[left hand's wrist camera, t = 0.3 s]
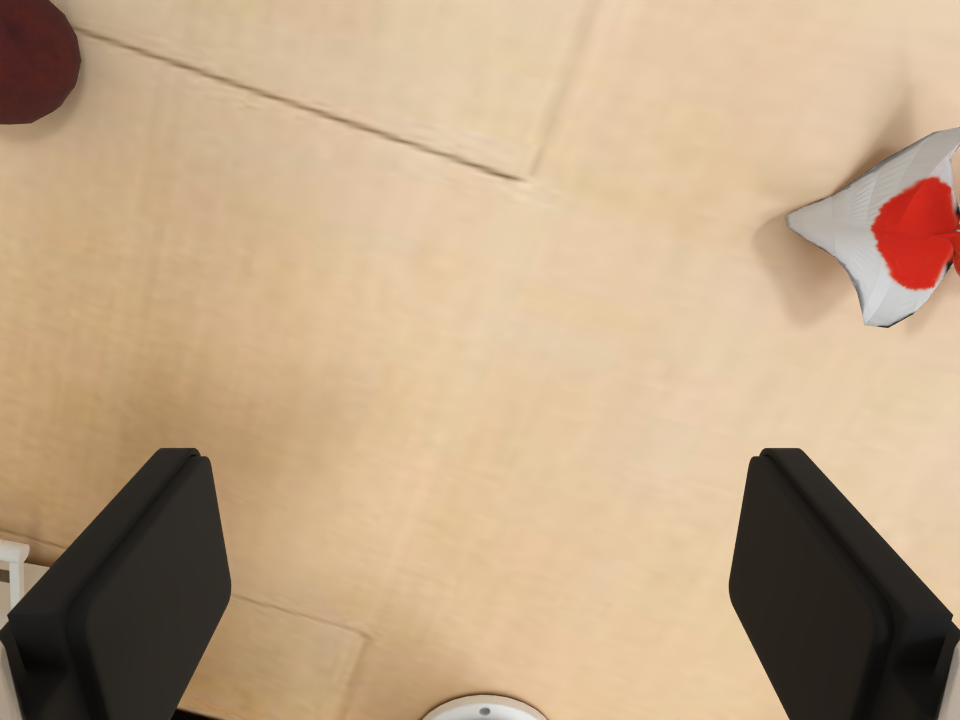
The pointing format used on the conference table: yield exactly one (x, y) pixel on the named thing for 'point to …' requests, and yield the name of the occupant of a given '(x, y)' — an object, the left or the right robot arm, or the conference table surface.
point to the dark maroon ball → (35, 60)
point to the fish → (892, 228)
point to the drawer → (15, 576)
